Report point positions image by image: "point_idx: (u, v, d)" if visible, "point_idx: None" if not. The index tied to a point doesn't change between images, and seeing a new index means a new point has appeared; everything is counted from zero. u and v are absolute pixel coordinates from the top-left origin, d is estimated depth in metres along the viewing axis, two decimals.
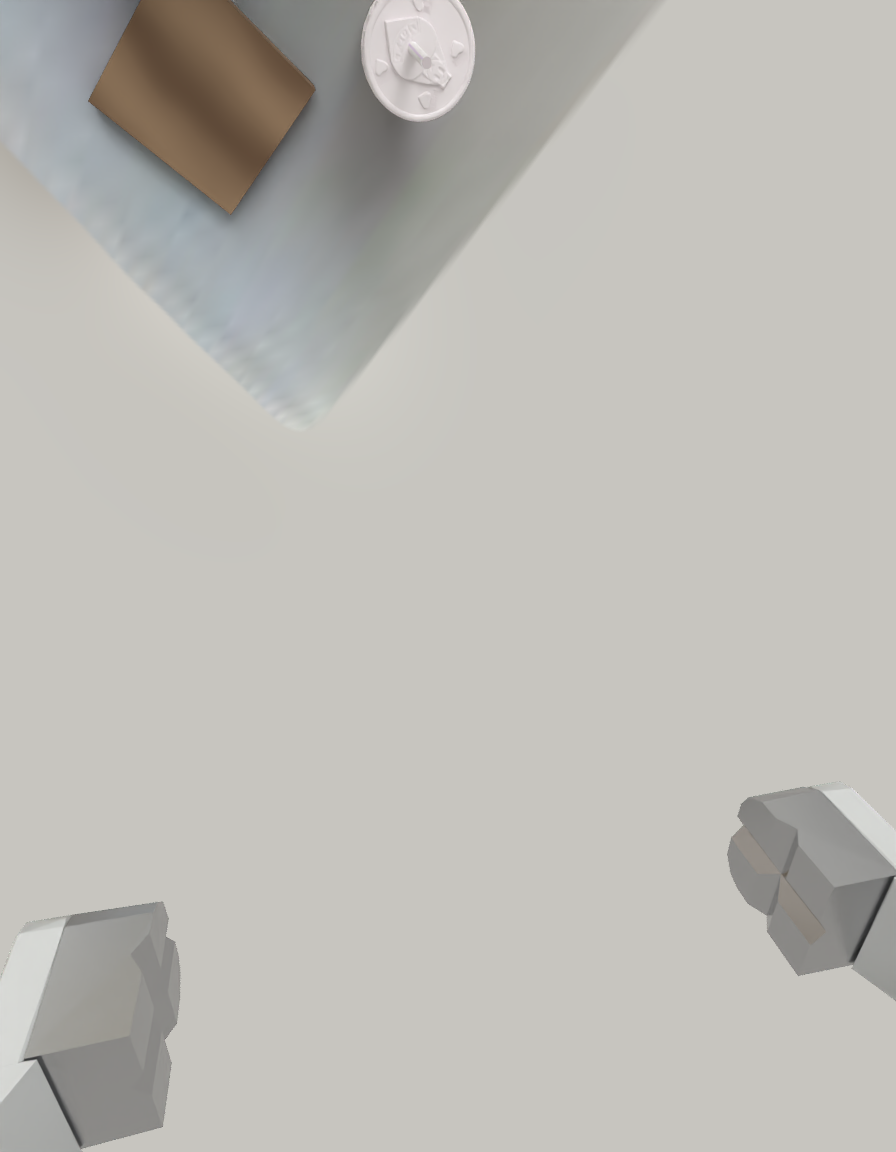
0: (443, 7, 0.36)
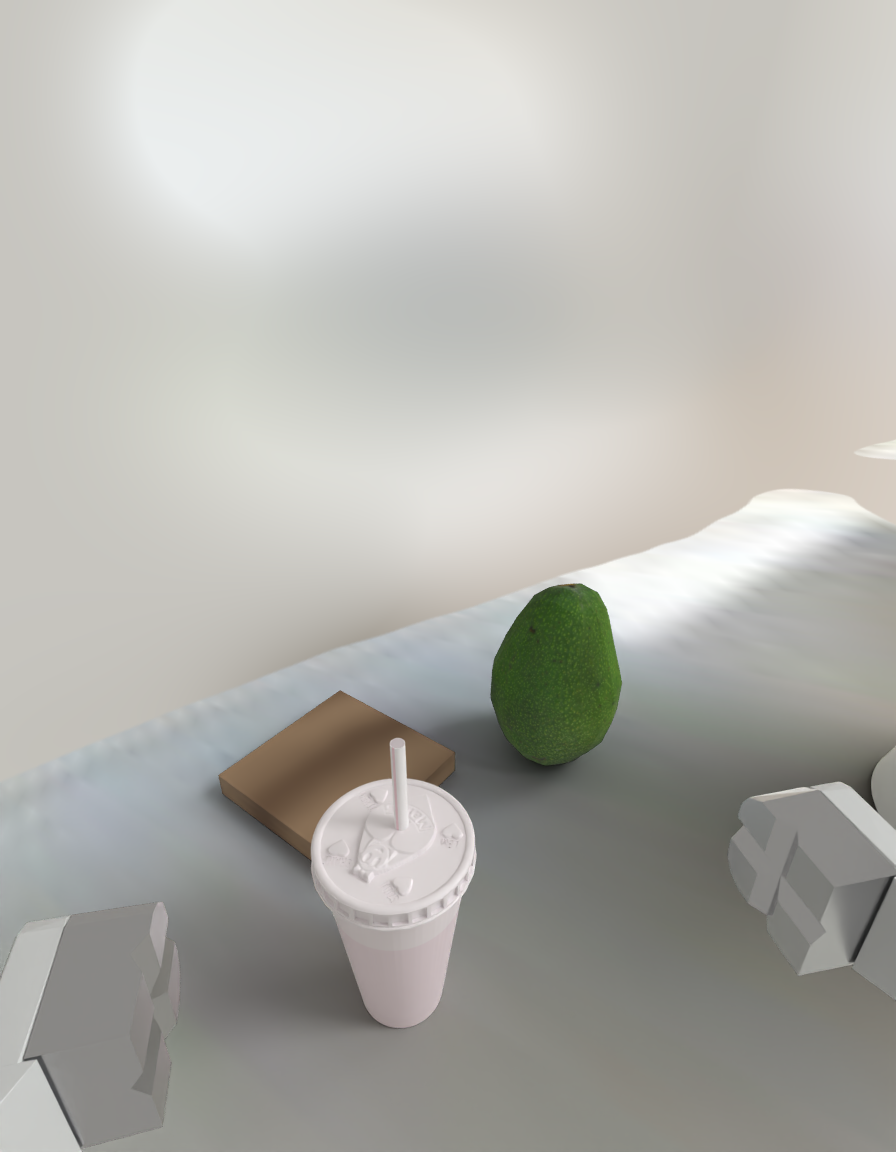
0: (448, 867, 0.25)
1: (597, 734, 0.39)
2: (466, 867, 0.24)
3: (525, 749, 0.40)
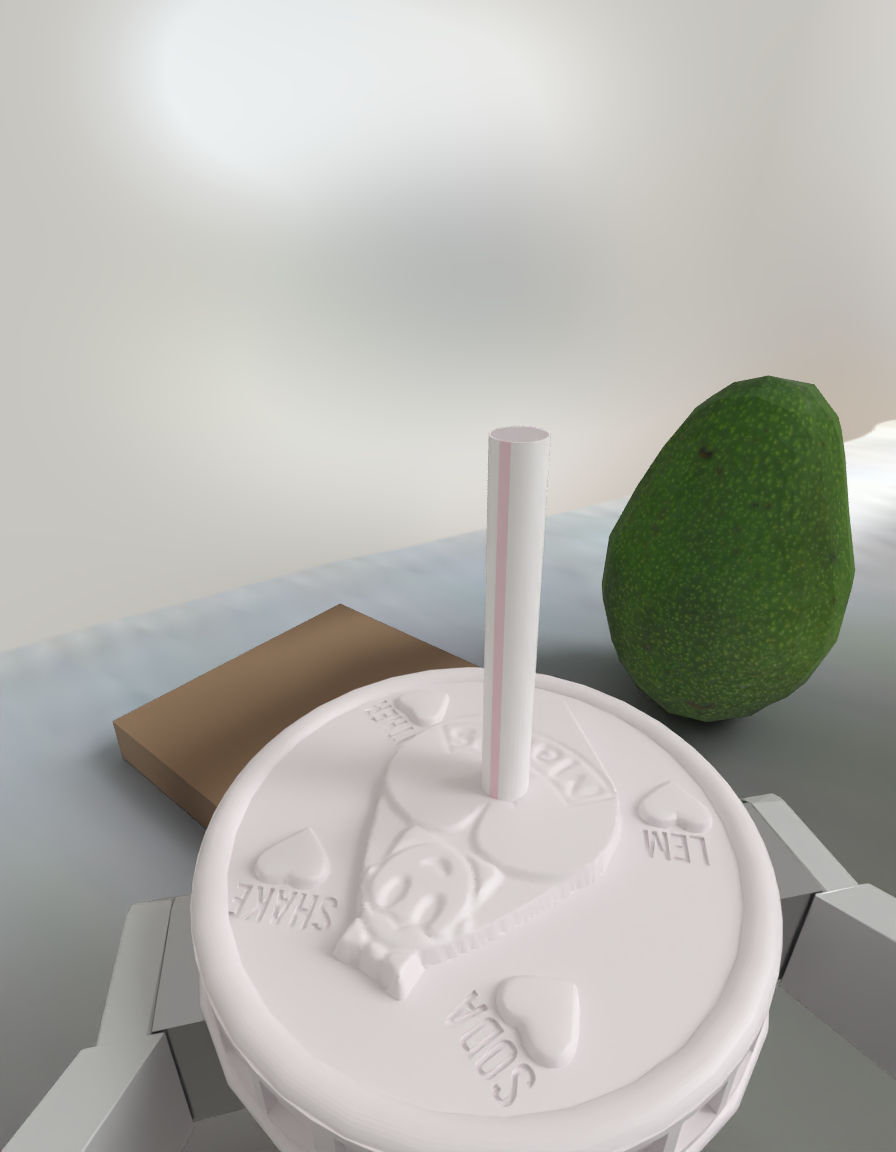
0: (695, 933, 0.07)
1: (817, 659, 0.21)
2: (776, 937, 0.06)
3: (675, 688, 0.22)
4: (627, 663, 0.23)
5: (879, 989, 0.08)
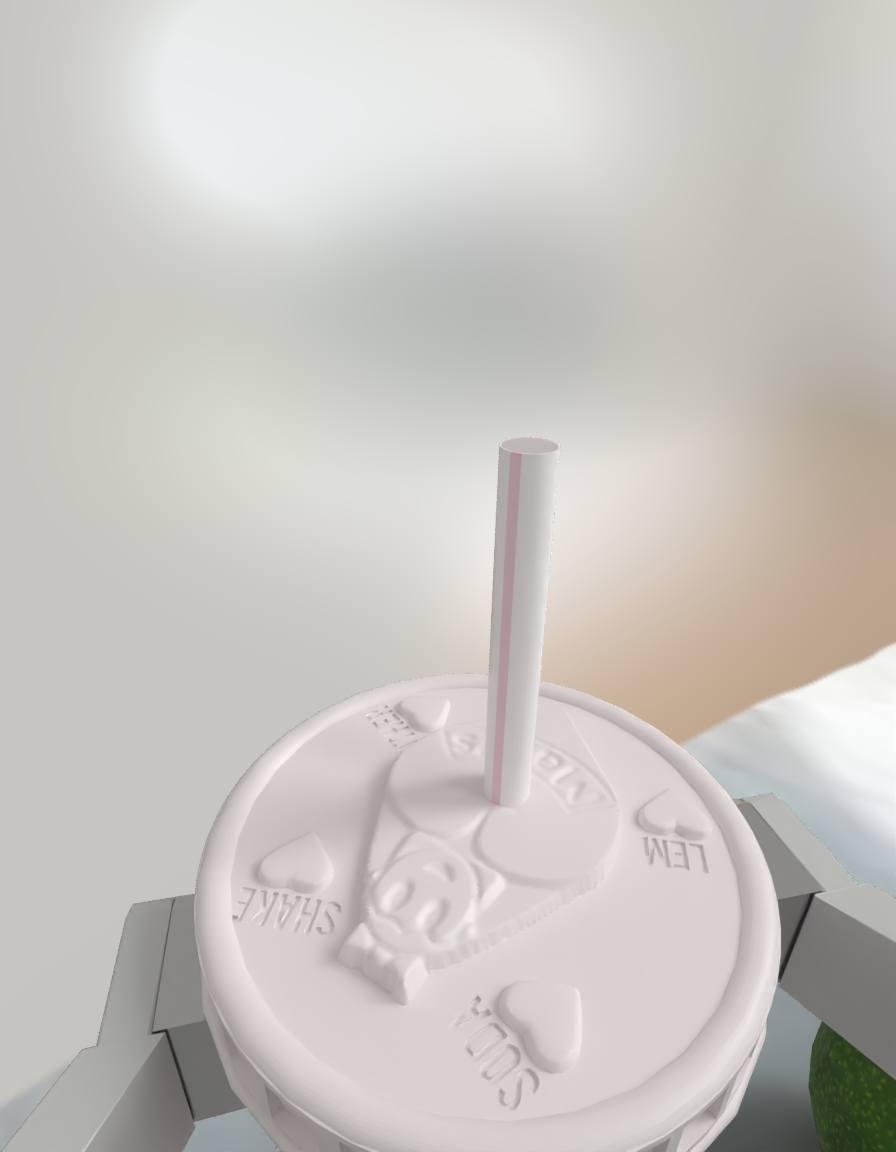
0: (695, 940, 0.07)
1: None
2: (774, 944, 0.06)
3: None
4: None
5: (878, 989, 0.08)
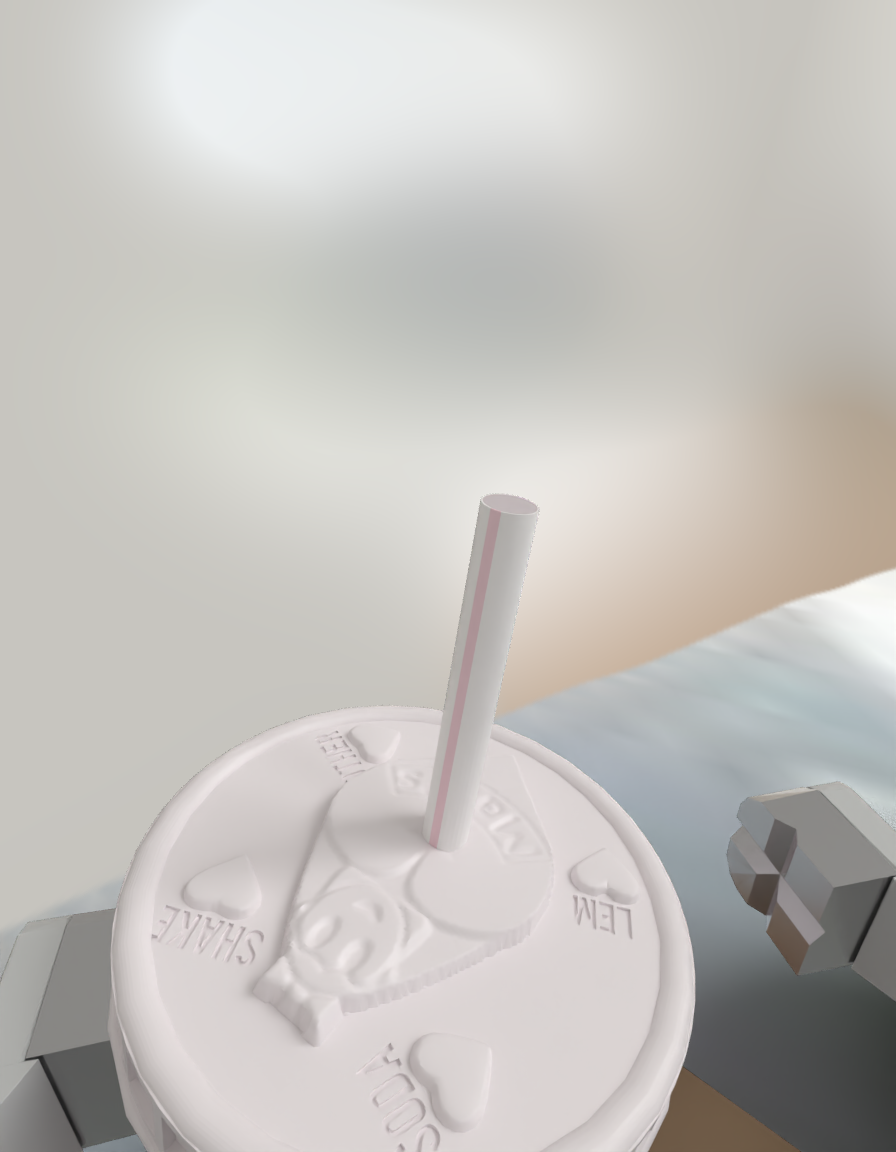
0: (610, 1005, 0.07)
1: None
2: (687, 1018, 0.07)
3: None
4: None
5: None
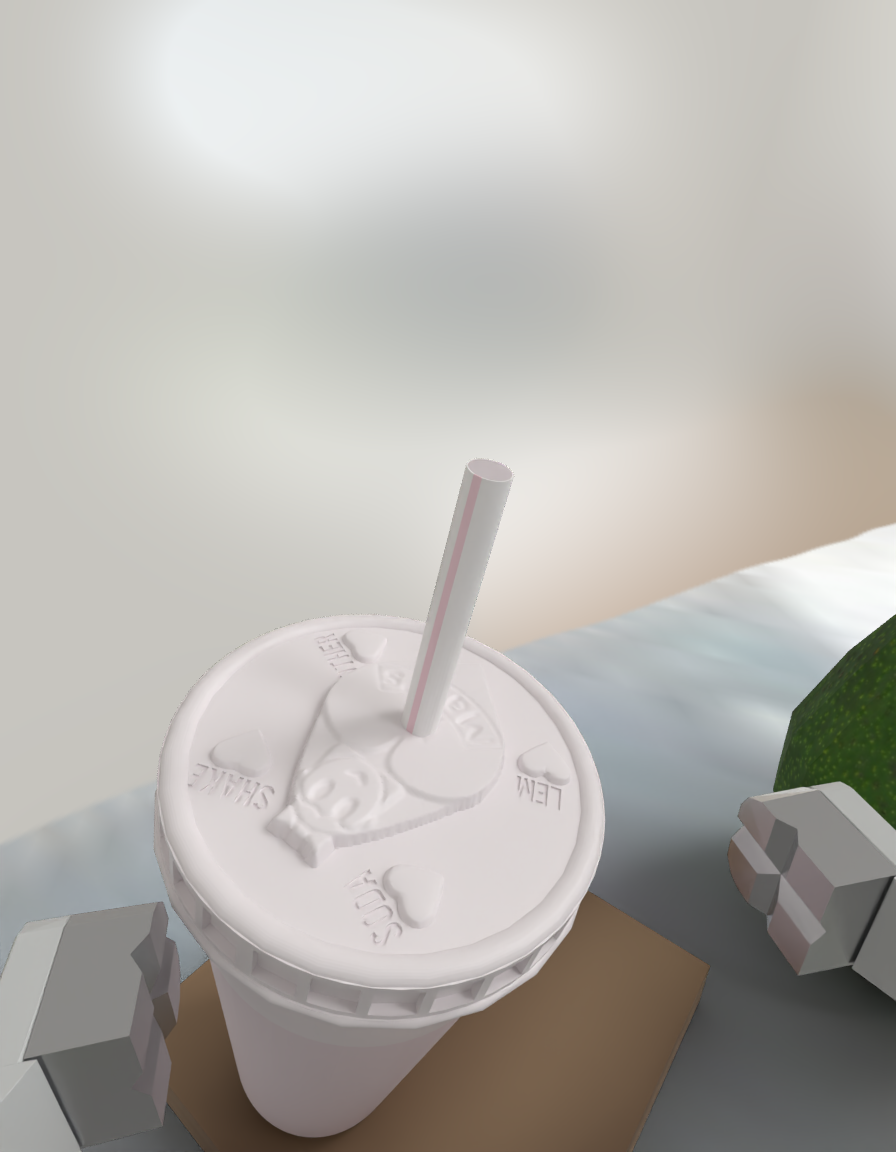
0: (536, 855, 0.09)
1: None
2: (592, 867, 0.09)
3: None
4: None
5: None
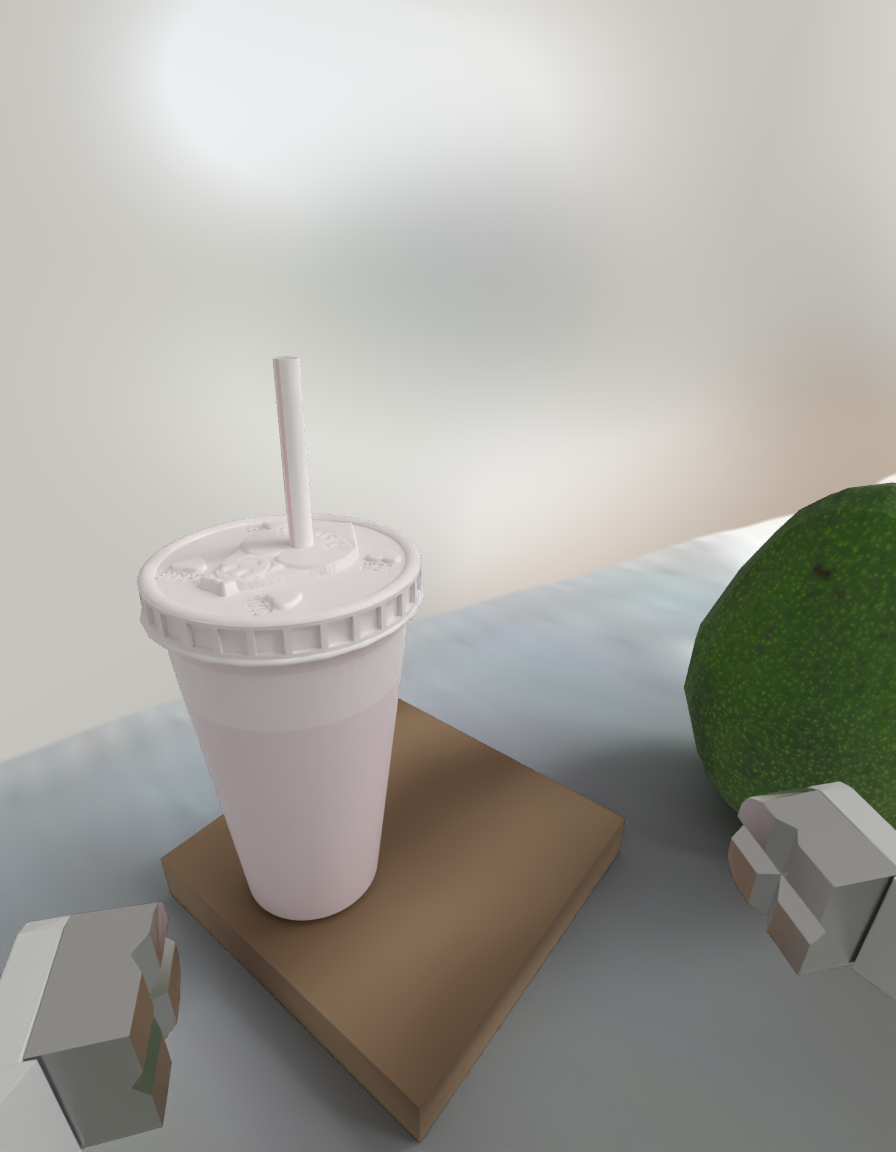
0: None
1: None
2: (399, 585, 0.14)
3: None
4: (718, 782, 0.21)
5: None
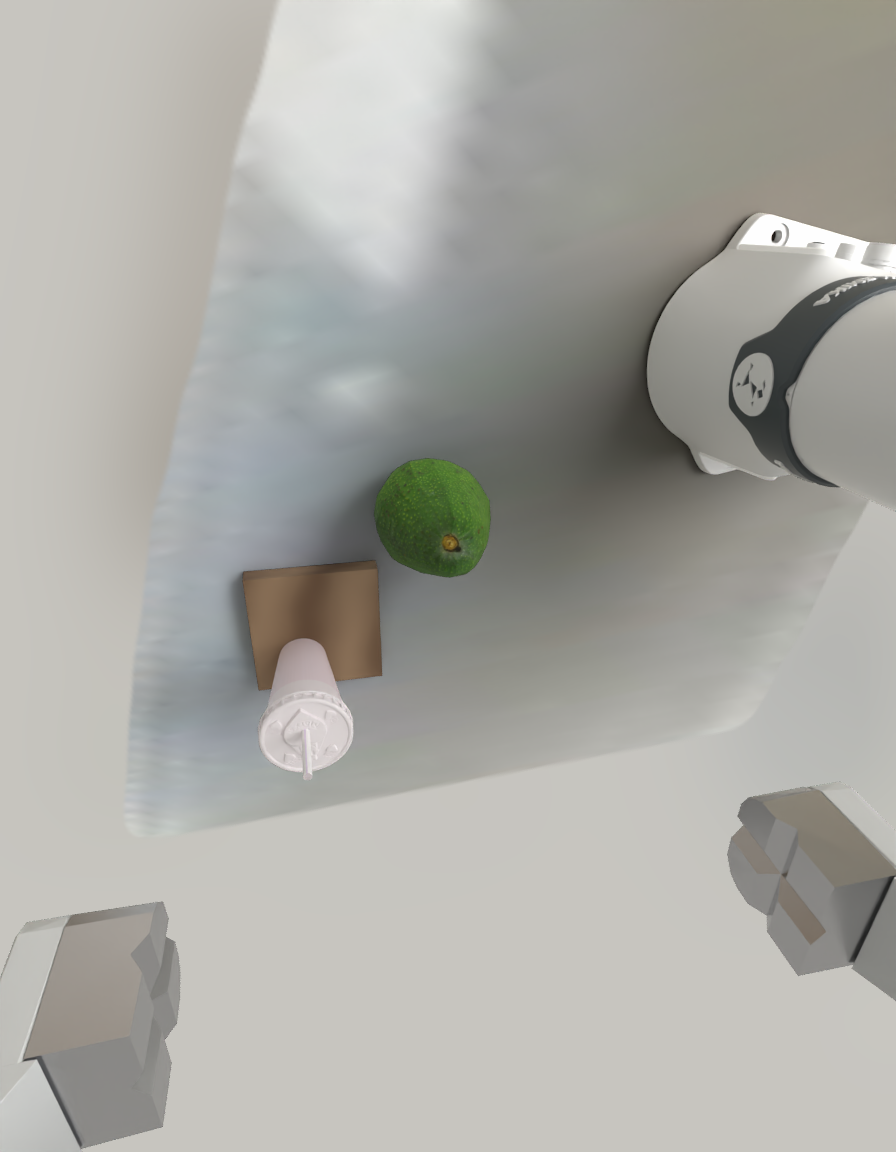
0: (341, 725, 0.45)
1: None
2: (351, 724, 0.45)
3: None
4: None
5: None
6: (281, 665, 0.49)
